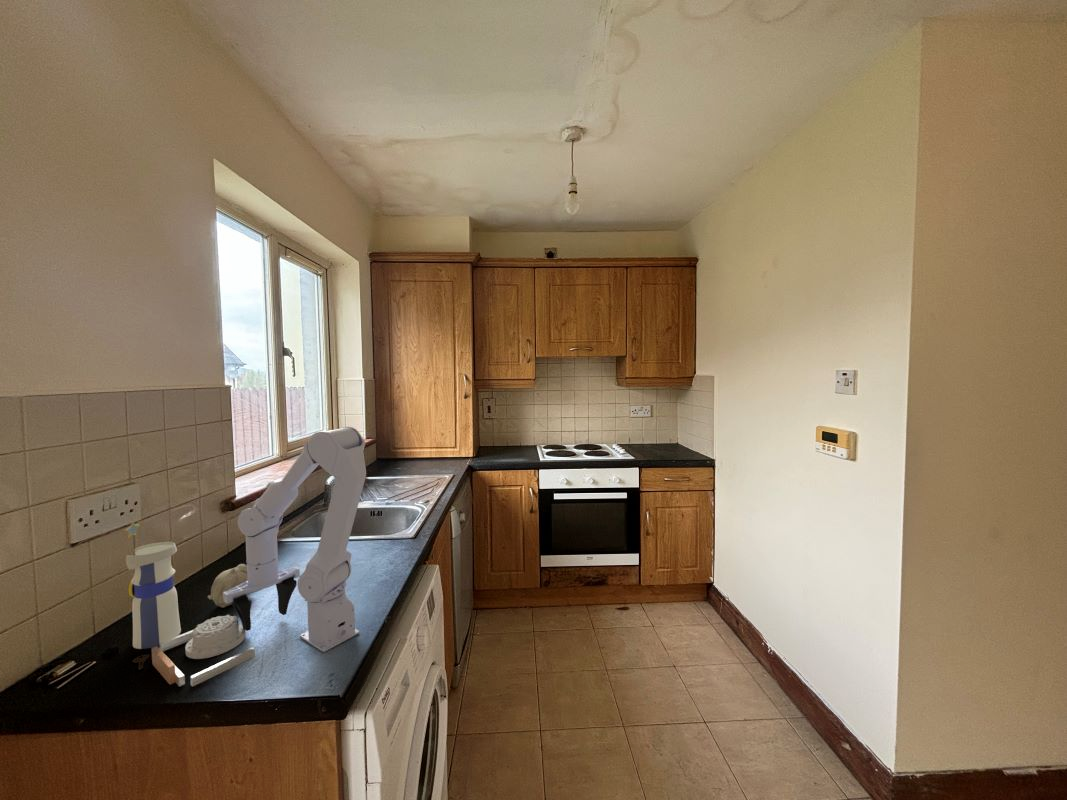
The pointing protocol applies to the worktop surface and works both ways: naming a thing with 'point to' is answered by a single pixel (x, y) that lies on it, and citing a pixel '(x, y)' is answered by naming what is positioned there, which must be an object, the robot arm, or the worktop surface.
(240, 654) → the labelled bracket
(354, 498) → the robot arm
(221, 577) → the garlic bulb
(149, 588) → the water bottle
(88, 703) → the worktop surface
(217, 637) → the mechanical component
